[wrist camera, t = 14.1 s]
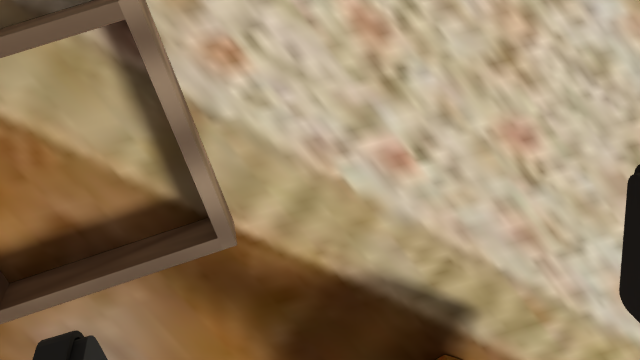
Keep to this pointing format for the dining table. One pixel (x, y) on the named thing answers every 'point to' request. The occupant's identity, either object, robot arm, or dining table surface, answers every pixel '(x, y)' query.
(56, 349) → the robot arm
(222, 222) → the walnut corral
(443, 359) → the decorative tree
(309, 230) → the dining table surface
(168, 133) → the dining table surface
